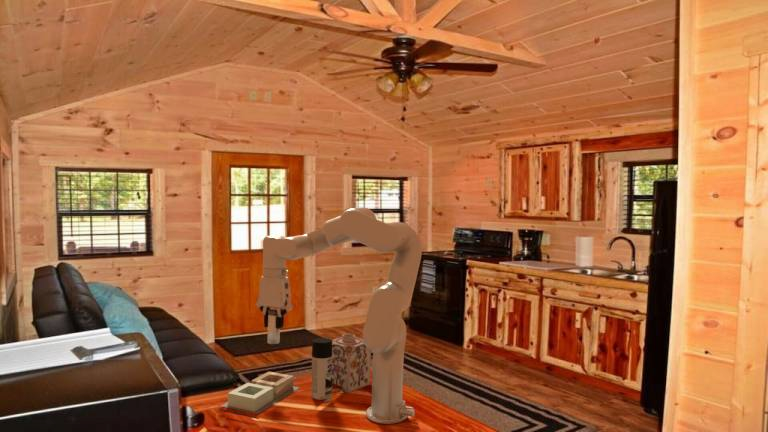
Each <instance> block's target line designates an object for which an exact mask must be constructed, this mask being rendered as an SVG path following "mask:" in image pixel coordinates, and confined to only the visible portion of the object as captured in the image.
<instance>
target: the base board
mask: <svg viewBox="0 0 768 432" xmlns="http://www.w3.org/2000/svg"><path fill="white" fill-rule="evenodd" d="M299 389H300V386H294V385H293V388H292V389H290V390H288V391H287V392H285V393H284V394H282V395H280V396H279V397H277V398H275V397H273V400H272V401H271V402H269V403H268V404H266V405H264V406H263V407H261V408H260V409H258V410H256V411H255V412H254V411H249V410H245V409H240V408H236V407H231V406H228V401H226V402H225V403H222V404H221V405H220V407H224V408H227V409H232V410H233V409H234V410H237V411H242V412H247V413H250V414H255V415H260V414H261V413H262V412H264V411H266V410H267V409H269V408H270V407H272V406H273V405H275V404H277V403H278V402H280V401H281V400H283V399H284V398H286V397H288V396H289V395H291V394H293V392H295V391H297V390H299ZM219 411H220V412H225V413H230V414H234V415H237V416H238V415H239V416H243V417H247V418H252V419H255V420H258V419H260V417H258V416H257V417H256V416H252V415H248V414H244V413H243V414H242V413H239V412H234V411H231V410H230V411H229V410H225V409H222V408H221V409H219Z"/></svg>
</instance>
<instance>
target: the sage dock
mask: <svg viewBox="0 0 768 432" xmlns="http://www.w3.org/2000/svg"><path fill="white" fill-rule="evenodd" d="M272 400H273V388H272V387H267V386H262V385H257V384H252V383H251V382H246V383H245V384H242V385H241V386H238V387H237V388H235V389H232V390H231V391H229V392H227V402H228V406H231V407H236V408H240V409H245V410H249V411H254V412H255V411H256V410H258V409H260V408H261V407H263V406H264V405H266V404H268V403H269V402H271V401H272Z"/></svg>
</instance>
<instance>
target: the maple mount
mask: <svg viewBox="0 0 768 432" xmlns="http://www.w3.org/2000/svg"><path fill="white" fill-rule="evenodd" d="M250 383H252V384H257V385H262V386H267V387H272V388H273V397H275V398H277V397H279V396H280V395H282V394H284V393H285V392H287V391H288V390H290V389H292V388H293V386H294V375H291V374H290V375H289V374H284V373H279V372H273V371H267V372H265V373H263V374H262V375H259V376H257V377H256V378H254V379H252V380H251V381H250Z"/></svg>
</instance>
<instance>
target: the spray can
mask: <svg viewBox="0 0 768 432" xmlns="http://www.w3.org/2000/svg"><path fill="white" fill-rule="evenodd" d="M332 341H333V340H332V339H331V338H327V337H318V338H317V337H316V338H314V339H312V341H311V397H312V398H313V399H315V400H318V401H320V400H321V401H322V400H323V401H322V402H321V404H327V403H329V402H330V401H332V398H333V395H332V394H333V390H332V389H333V383H332Z"/></svg>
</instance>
